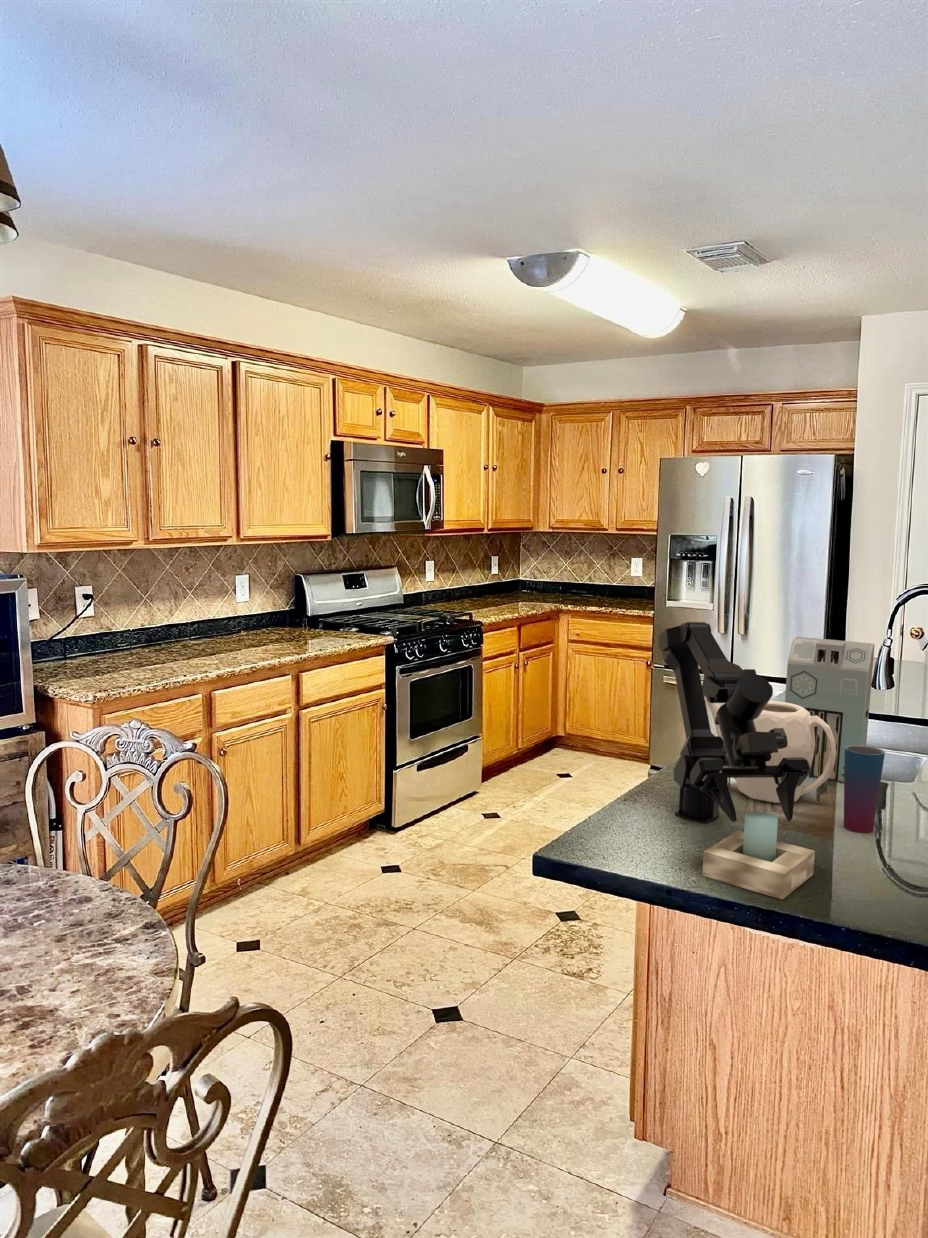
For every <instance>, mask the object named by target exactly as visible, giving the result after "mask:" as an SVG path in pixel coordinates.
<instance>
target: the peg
mask: <svg viewBox="0 0 928 1238" xmlns="http://www.w3.org/2000/svg"><path fill="white" fill-rule="evenodd" d="M778 822H779V818H778V817H777V816H776V815H774V814H771V813H768V812H762V811H749V812H747V813H745V814H744V824H743V832H744V841H743V855H747V856H750V857H754V858H758V859H761V860H765V861H768V862H773V861H774V860H775V858H776V842H777V841H778V825H779V823H778Z"/></svg>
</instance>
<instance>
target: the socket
mask: <svg viewBox="0 0 928 1238" xmlns="http://www.w3.org/2000/svg"><path fill="white" fill-rule="evenodd" d="M743 841H744V831H742V830H741V831H740V830H737V831H735V832H733V833H732V834H730V835H729V836H727V837H725V838H724V839H721V840H720V841H719V842H717V843H716V844H714V845H712V846H711V847H709V848H707V849H705V850H703V853H702V854H703V855H702V856H703V859H702V872H701V876H703V877H706V878H709V879H712V880H715V881H719V882H722V883H725V884H729V885H731V886H734V887H740V888H742V889H745V890H748V891H752V892H756V893H759V894H762V895H765V896H769V897H773V898H775V899H777V900H778V899H779V900H781V901H783V900H784V899H785V898H786V897H788V896H789V895H790V894H792V893H793V892H794V891H795V890H796V889H798V888H799V887H800V886H801V885H802V884H803V883H805V882H806V881H807V880H808V879H809V878H811V877H812V876H814V869H815V867H814V866H815V854H816V851H815V850H814V849H809V848H806V847H803V846H798V845H793V844H790V843H786V842H783V841H779V840H777V842H776V858H775V860H774V861H773V862H768V861H765V860H761V859H758V858H754V857H750V856H747V855H743Z"/></svg>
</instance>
